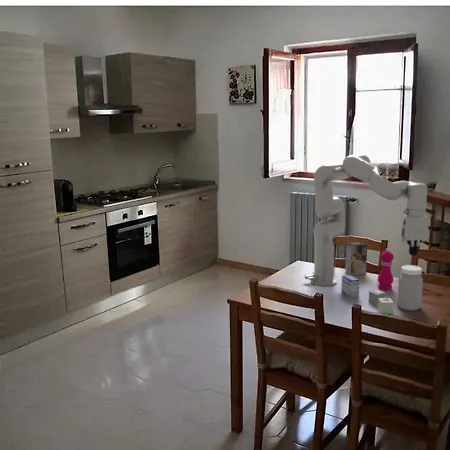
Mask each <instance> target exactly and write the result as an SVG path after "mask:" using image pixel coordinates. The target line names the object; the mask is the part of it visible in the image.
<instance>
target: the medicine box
mask: <svg viewBox="0 0 450 450" xmlns="http://www.w3.org/2000/svg"><path fill="white" fill-rule="evenodd" d="M360 282H361V280H360V279H359V278H357V277H355V276H354V275H349V274H345V275H342V276H341V288H340V289H341V291H340V292H341V294H343V295H345V296H347V297H348V298H351V299H354V298H355V299H356V298H359V297H360V284H361V283H360Z"/></svg>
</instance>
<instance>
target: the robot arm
mask: <svg viewBox="0 0 450 450" xmlns="http://www.w3.org/2000/svg"><path fill="white" fill-rule="evenodd" d="M380 172H381V171H380V168H379V167H378V166H377V165H374V164H373V163H371V160H370V158H369V157H368V156H367V155H366V154H364V153H361V154H360V153H359V154H351V155H348V156H346V157H345V158H344V159H343V160H342V161H341V162H340V161H339V162H330V163H326V164H323V165H320V166H319V167H318V168H317V169H316V170H315V172H314V175H313V184H314V198H315V199H314V200H315V204H314V205H315V213H316V215H317V217H318V218H320V219H325V220H321V221H319V222H317V223H316V224H315V225H314V227H313V229H312V231H313V232H312V233H313V239H314V240H313V241H314V267H313V269H314V272H312V273H311V274H308V275H307V274H306V275H304V279H305V280H308V281H310V282H311V284H312V285H315V286H319V287H332V286H335V285H336V284H337V279H336V278H334V272H335V271H334V270H335V269H334V268H335V266H334V265H335V245H334V242H333V239H334V238H338V237H341V236H342V235H343V234H344V232H345V230H346V211H345V209H346V208H345V204H344V202H343V200H342V199H341V198H340V197H339V196H334V189H333V185H332V184H331V183H332V182H335V181H341V180H346V179H349V178H352V177H354V178H356V179H358V180H360V181H362V182H364V183H365V184H367V185H368V187H369V188H370V189H371V190H372V192H374V193H375V194H377V195H379V196H381V197H382V198H384V199H386V200H388V201H397V200H402V199H406V208H405V210H403V214H404V217H403V222H402V225H401V242H403V243H405V244H408V246H409V247H408V252H409V253H408V254H409V255H410V256H413V257H414V256H415V257H416V256H418V255H417V254H418V247H420V245H421V244H422V243H423V242H427V239H428V238H429V219H428V215H426V211H427V199H428V197H427V196H428V186H427V184H426V183H424V182H413V181H407V180H400V181H394V182H393V181H391V180H388V179H386V178H384V177H383V176H381V175H380Z"/></svg>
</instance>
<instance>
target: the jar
mask: <svg viewBox="0 0 450 450" xmlns="http://www.w3.org/2000/svg"><path fill="white" fill-rule="evenodd" d="M422 271H423V268H421V267H420V266H418V265H415V264H413V265H412V264H405V265H402V266H401V268H400V275H399V277H398V288H397V302H396V304H397V306H398V307H399V308H400V309H402V310H405V311H409V312H410V311H411V312H412V311H418V310H419V309H420V308H421V307H422V306H421V305H422V297H423V296H422V295H423V285H424V284H423V283H424V279H423V277H422V273H423V272H422Z"/></svg>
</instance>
